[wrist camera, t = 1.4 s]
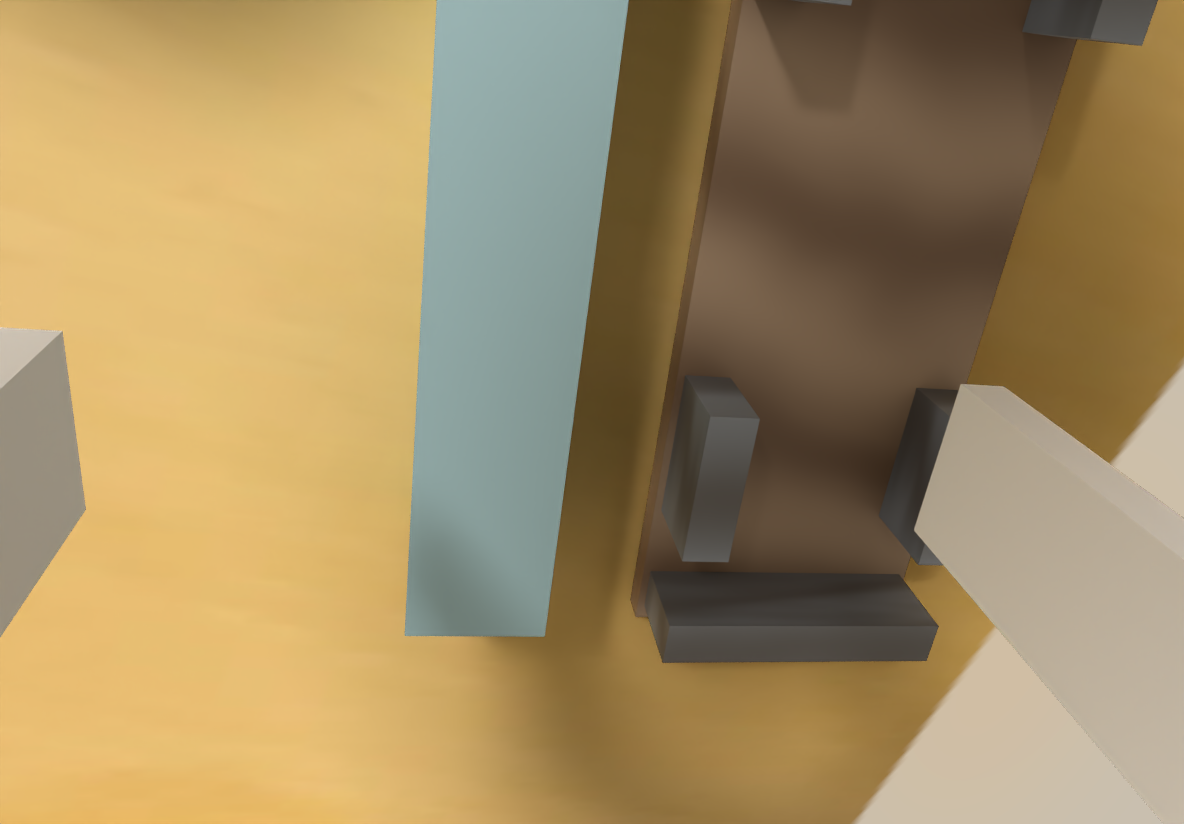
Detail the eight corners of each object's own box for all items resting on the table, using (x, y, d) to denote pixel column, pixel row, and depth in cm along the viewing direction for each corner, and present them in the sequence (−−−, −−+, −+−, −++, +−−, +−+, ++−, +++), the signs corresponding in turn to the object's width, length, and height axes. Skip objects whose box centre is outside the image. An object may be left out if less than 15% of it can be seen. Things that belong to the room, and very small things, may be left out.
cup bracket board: (809, -458, 21) (884, -547, 17) (1182, -369, 23) (1320, -434, 19) (630, 599, 33) (653, 674, 30) (879, 601, 35) (929, 671, 32)
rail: (451, -256, 22) (453, -332, 16) (613, -225, 22) (666, -289, 17) (411, 521, 31) (404, 635, 25) (527, 524, 32) (544, 636, 26)
